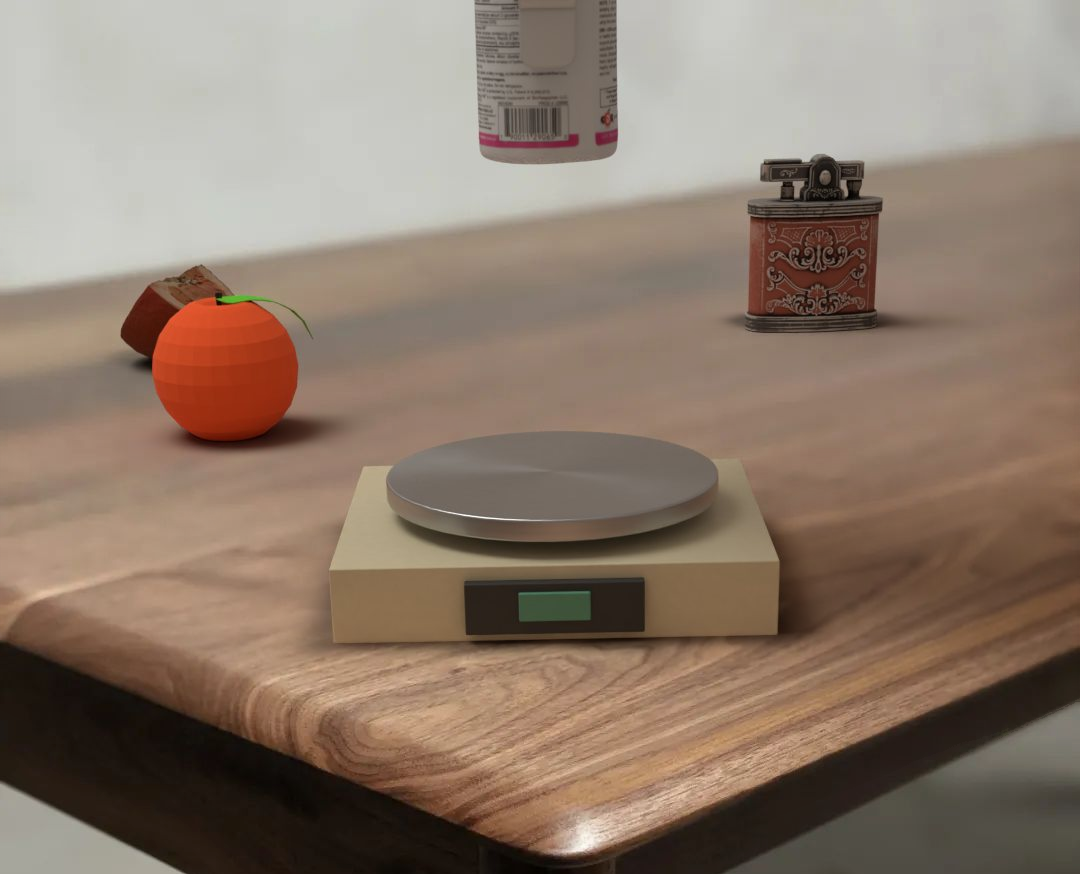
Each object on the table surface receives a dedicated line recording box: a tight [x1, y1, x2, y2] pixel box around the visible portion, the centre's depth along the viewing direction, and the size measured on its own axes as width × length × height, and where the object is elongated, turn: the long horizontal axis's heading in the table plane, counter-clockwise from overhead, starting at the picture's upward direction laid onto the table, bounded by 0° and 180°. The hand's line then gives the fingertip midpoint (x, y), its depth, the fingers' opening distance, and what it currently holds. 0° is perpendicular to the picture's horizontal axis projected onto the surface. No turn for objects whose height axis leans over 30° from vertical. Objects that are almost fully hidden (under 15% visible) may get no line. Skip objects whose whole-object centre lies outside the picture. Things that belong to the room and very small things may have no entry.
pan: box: [386, 430, 718, 542], centre depth 67 cm, size 12×12×1 cm
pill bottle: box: [473, 0, 619, 165], centre depth 61 cm, size 5×5×8 cm
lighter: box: [744, 153, 884, 333], centre depth 110 cm, size 8×3×10 cm, turn 94°
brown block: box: [119, 264, 236, 360], centre depth 106 cm, size 8×7×5 cm
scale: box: [328, 458, 781, 644], centre depth 67 cm, size 15×14×3 cm
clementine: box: [151, 293, 314, 442], centre depth 88 cm, size 8×7×7 cm
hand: (548, 61), depth 62 cm, fingers closed on pill bottle, 5 cm apart
